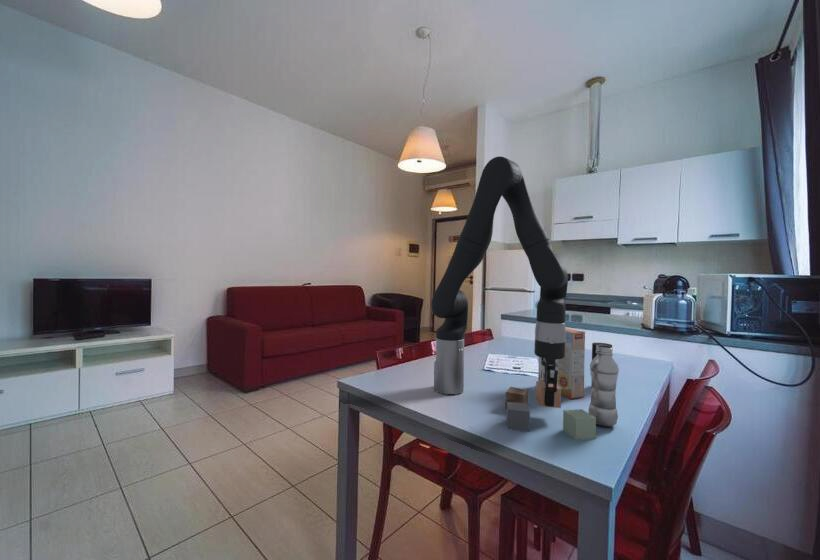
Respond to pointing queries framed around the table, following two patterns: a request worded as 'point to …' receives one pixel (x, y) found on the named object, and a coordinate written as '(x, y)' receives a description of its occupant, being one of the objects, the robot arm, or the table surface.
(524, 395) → the walnut cube
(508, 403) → the charcoal cube
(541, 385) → the terracotta cube
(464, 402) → the table surface
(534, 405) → the table surface
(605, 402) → the plastic bottle
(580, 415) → the sage cube
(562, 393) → the cracker box
